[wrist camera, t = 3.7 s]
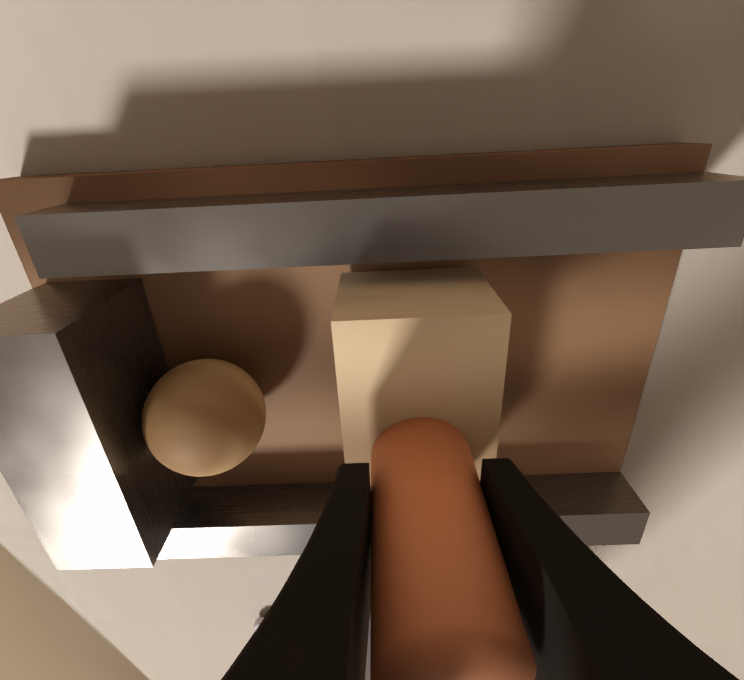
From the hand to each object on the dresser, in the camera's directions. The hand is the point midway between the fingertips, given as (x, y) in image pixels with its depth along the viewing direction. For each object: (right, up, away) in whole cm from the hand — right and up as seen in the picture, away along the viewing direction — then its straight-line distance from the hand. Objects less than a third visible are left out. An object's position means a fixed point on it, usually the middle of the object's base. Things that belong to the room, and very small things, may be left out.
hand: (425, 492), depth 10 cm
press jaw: (0, +2, +4) cm, 5 cm away
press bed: (-2, +3, +6) cm, 7 cm away
